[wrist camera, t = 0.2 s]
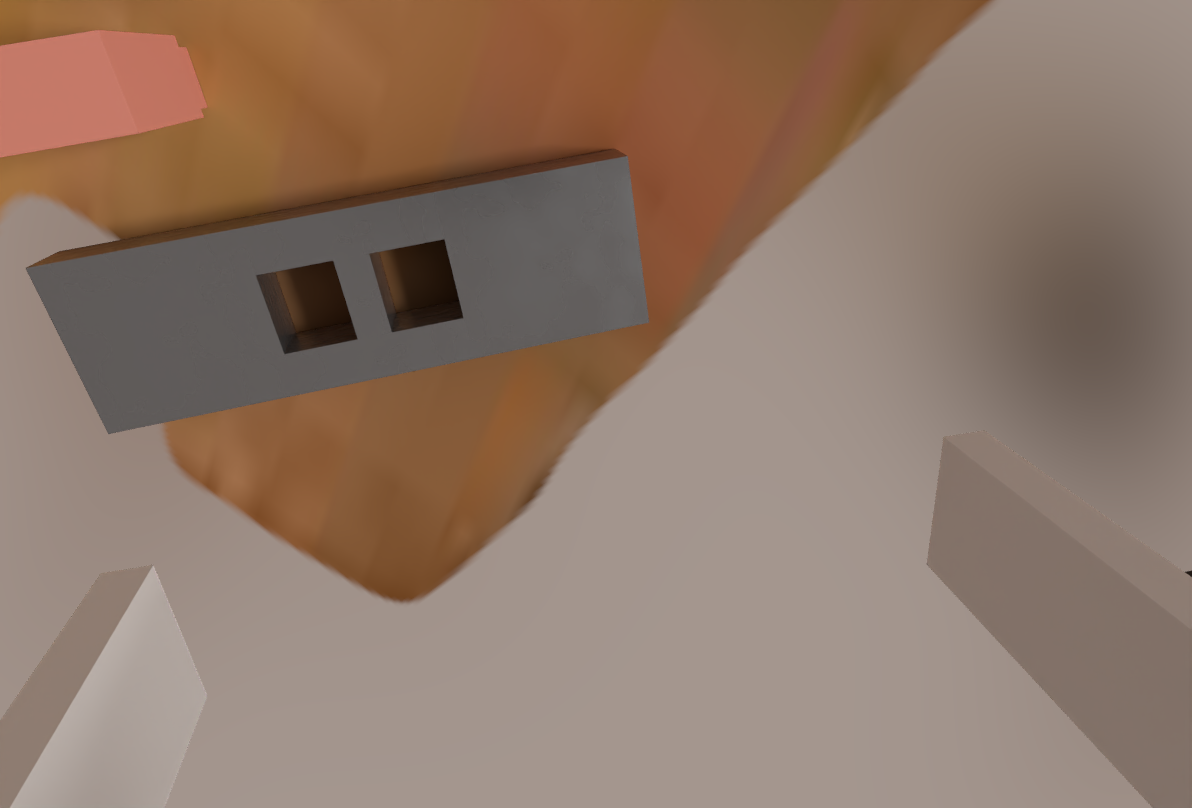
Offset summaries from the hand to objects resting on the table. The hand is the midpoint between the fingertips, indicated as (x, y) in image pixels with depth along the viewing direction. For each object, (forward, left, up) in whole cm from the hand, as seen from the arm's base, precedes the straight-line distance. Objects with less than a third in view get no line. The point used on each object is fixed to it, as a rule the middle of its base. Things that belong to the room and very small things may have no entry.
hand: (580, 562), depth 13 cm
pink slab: (-9, -15, -27) cm, 32 cm away
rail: (+1, -7, -27) cm, 28 cm away
